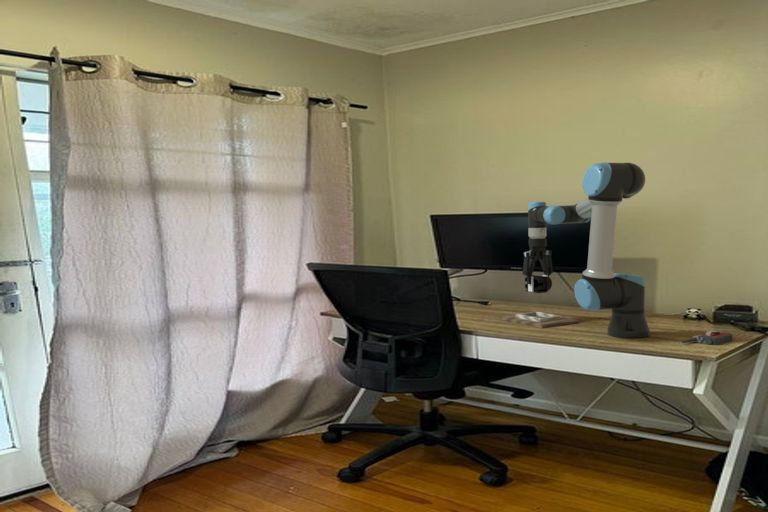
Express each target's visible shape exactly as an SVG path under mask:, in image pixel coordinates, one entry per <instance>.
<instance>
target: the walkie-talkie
mask: <svg viewBox="0 0 768 512" xmlns="http://www.w3.org/2000/svg"><path fill="white" fill-rule="evenodd" d="M693 342H694V343H699V344H705V345H710V346H711V345H712V346H719V345H723V344H726V343H731V342H733V334H732V333H731V332H725V331H723V330H720V329H718V330H713V329H712V330H707V331H706V332H705V333H704V334H697V335H693V336H692V338H688V339H684V340H681V344H687V343H693Z"/></svg>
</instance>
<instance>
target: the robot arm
mask: <svg viewBox="0 0 768 512" xmlns="http://www.w3.org/2000/svg"><path fill="white" fill-rule="evenodd" d="M645 174H646V173H644V170H643V169H642V168H641V167H640V166H639V165H637V164H635V163H632V162H599V163H594V164H592V165H590V166H589V167H588V168H587V169H586V170H585V172H584V175H583V178H582V183H581V184H582V189H583V193H585V195H587V196H586V198H583V199H581V200H580V201H579V202H577V203H575V204H571V205H569V204H567V205H547V202H546V201H530V202H528V204H527V205H528V208H527V209H528V210H527V215H528V216H527V219H528V221H527V223H528V225H527V226H528V232H527V233H528V237H529V238H528V247H529V250H528V251H524V252H523V265H522V267H523V268H522V275H523V276H525V277H527V281H526V284H528V289H527V290H528V291H529V293H534V282H533V277H532V275H533V273H534V270H535V266H536V263H537V262H538V261H539V262H540V266H541V268H542V271H543V274H542V276H545V277H549V278H550V276H551V274H553V273H554V270H553V269H554V268H553V259H552V255H553V253H552V252H553V251H552V250H547V249H546V247H547V246H548V245H547V238H546V237H547V225H552V226H554V225H560V224H561V225H563V224H585V223H589V222H590V226H589V227H590V229H589V242H588V253H587V254H588V255H587V264H586V265H587V266H586V269H585V270H583V271H582V275H581V278H579V280H577V281H576V283H575V284H574V288H573V289H574V296H575V300H576V302H577V304H578V305H579V306H580V307H581V308H582V309H583V310H585V311H596V312H597V311H600V310H611V315H610V319H609V323H608V326H607V327H606V333H607V335H608V336H610V337H616V338H624V339H630V338H631V339H637V338H638V339H640V338H647V337H649V336H650V334H651V329H650V326H649V325H648V321H647V319H646V315H645V314H646V313H645V309H646V307H645V293H646V292H645V291H646V290H645V288H646V286H645V279H644V277H643V276H642V275H639V274H638V275H637V274H631V273H630V274H628V273H618V272H614V271H613V270H612V266H613V257H614V246H615V245H614V244H615V235H616V224H617V221H616V220H617V213H618V212H617V209H618V206H619V205H620V204H621V203H622V202H623V199H625V200H626V199H630V198H632V197H634V196H635V195H637V194H638V193H639V192H641V191H642V190H643V188H644V186H645V183H646V175H645Z"/></svg>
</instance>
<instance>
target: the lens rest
mask: <svg viewBox="0 0 768 512" xmlns="http://www.w3.org/2000/svg"><path fill="white" fill-rule="evenodd" d="M499 320H500V321H506V322H510V323H514V324H515V323H516V324H521V325H524V326H530V327H535V328H540V329H546V328H552V327H560V326H561V327H562V326H567V325H574V324H579V323H580V321H579V319H574V318H568V317H563V315H559V314H553V313H546V312H541V311H531V312H522V313H515V314H511V315H503V316H499Z"/></svg>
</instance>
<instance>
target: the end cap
mask: <svg viewBox="0 0 768 512" xmlns="http://www.w3.org/2000/svg"><path fill="white" fill-rule="evenodd" d="M532 277H533V282H534V292H533V293H535V294H544V293H548V291H550V290H551V289H552V286H553V281H552V278H550V276H549V277H545V276H543V275H534V274H532ZM524 282H527V276H525V277H524ZM524 288H525V292H527V293H528V292H529V291H528V284H527V283H525V284H524ZM529 293H530V292H529Z"/></svg>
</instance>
